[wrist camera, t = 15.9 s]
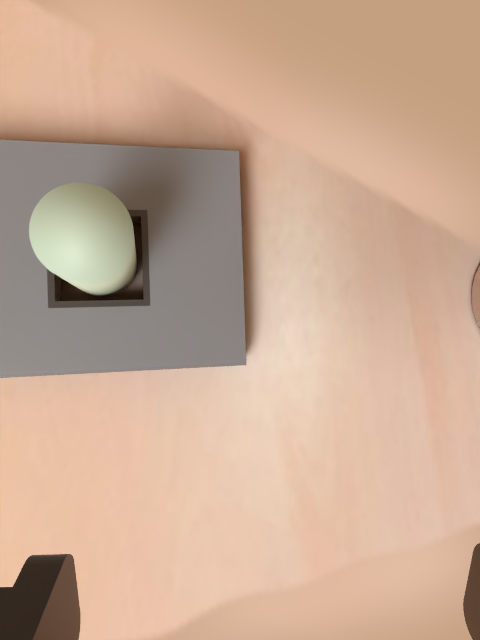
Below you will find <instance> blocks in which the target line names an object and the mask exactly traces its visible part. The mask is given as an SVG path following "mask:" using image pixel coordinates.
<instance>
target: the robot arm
mask: <svg viewBox="0 0 480 640" xmlns="http://www.w3.org/2000/svg"><path fill="white" fill-rule="evenodd" d="M472 306H473V312H474V316H475V319H476V322H477V324H478V326H479V328H480V265H479V268H478V270H477V272H476V274H475V277H474V282H473V286H472ZM463 605H464V606H463V607H464V616H465V620H466V624H467V627H468V630H469V633H470V635H471V637H472V639H473V640H480V544H477V545H476V546H475V548H474V551H473V556H472V561H471V566H470V571H469V576H468V581H467V587H466V591H465V596H464V603H463ZM79 632H80V607H79V599H78V590H77V582H76V573H75V565H74V559H73V556H72V555H71V554H59V555H32V556H30V557H29V558H28V559H27V560H26V562H25V564H24V566H23V568H22V570H21V572H20V574H19V576H18V578H17V580H16V582H15V584H14V586H13V587H0V640H78V639H79Z"/></svg>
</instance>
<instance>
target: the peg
mask: <svg viewBox="0 0 480 640" xmlns="http://www.w3.org/2000/svg"><path fill="white" fill-rule="evenodd" d="M29 237H30V242H31V246H32V248H33V251H34V253H35V254H36V256H37V258H38V259H39V260H40V262H41V263H42V264H43V265H44V266H45V267H46V268H47V269H48V270H50V271H51V272H52V273H54V274H56V275H57V276H59V277H60V278H62V279H64V280H65V281H67V282H69V283H70V284H72V285H74V286H75V287H77V288H79V289H80V290H82V291H83V292H85V293H87V294H89V295H92V296H97V297H109V296H113V295H116V294H118V293H120V292H122V291H123V290H125V289H126V288H127V287H128V286H129V285H130V284H131V282H132V280H133V279H134V276H135V274H136V269H137V259H136V250H135V240H134V230H133V224H132V220H131V217H130V214H129V212H128V211H127V209H126V207H125V206H124V204H123V203H122V202H121V201H120V200H119V199H118V198H117V197H116V196H115V195H114V194H113V193H111V192H110V191H108V190H106V189H104V188H102V187H100V186H97V185H94V184H90V183H81V182H80V183H69V184H65V185H62V186H59V187H57V188H55V189H53V190H51V191H50V192H48V193H47V194H46V195H45V196H44V197H43V198H42V199H41V200H40V201H39V202H38V204H37V205H36V207H35V209H34V210H33V213H32V216H31V218H30V224H29Z"/></svg>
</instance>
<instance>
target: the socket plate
mask: <svg viewBox="0 0 480 640" xmlns="http://www.w3.org/2000/svg"><path fill="white" fill-rule="evenodd" d="M80 182H81V183H90V184H94V185H97V186H100V187H102V188H104V189H106V190H108V191H110V192H111V193H113V194H114V195H115V196H116V197H117V198H118V199H119V200H120V201H121V202H122V203H123V204H124V206H125V207H126V209H127V211H128V212H129V214H130V217H131V220H132V223H141V232H142V264H143V295H144V300H97V301H61V288H60V277H59V276H57V275H56V274H54V273H52V272H51V271H50V270H48V269H47V268H46V267H45V266H44V265H43V264H42V263H41V262H40V260H39V259H38V258H37V256H36V254H35V253H34V251H33V248H32V246H31V242H30V237H29V224H30V218H31V216H32V213H33V210H34V209H35V207H36V205H37V204H38V202H39V201H40V200H41V199H42V198H43V197H44V196H45V195H46V194H47V193H48V192H50V191H51V190H53V189H55V188H57V187H59V186H62V185H65V184H69V183H80ZM236 365H246V341H245V311H244V282H243V252H242V223H241V193H240V164H239V151H235V150H213V149H192V148H170V147H149V146H127V145H106V144H85V143H63V142H42V141H20V140H0V378H7V377H26V376H45V375H64V374H83V373H103V372H122V371H141V370H160V369H179V368H198V367H217V366H236Z"/></svg>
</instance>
